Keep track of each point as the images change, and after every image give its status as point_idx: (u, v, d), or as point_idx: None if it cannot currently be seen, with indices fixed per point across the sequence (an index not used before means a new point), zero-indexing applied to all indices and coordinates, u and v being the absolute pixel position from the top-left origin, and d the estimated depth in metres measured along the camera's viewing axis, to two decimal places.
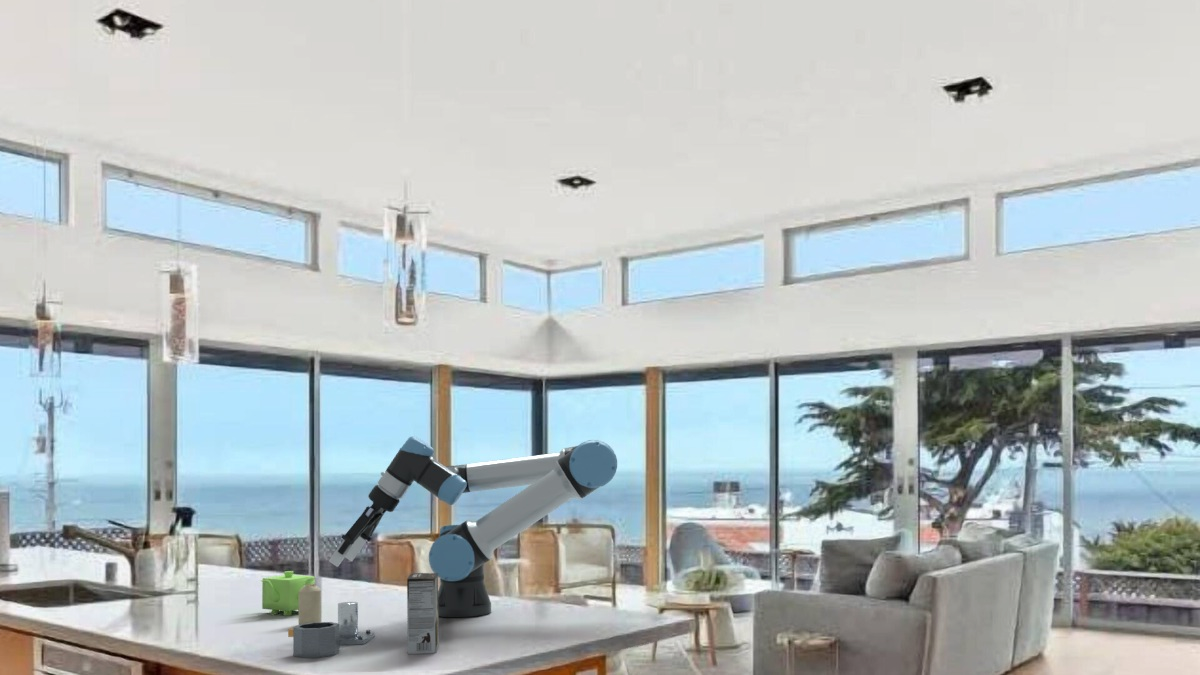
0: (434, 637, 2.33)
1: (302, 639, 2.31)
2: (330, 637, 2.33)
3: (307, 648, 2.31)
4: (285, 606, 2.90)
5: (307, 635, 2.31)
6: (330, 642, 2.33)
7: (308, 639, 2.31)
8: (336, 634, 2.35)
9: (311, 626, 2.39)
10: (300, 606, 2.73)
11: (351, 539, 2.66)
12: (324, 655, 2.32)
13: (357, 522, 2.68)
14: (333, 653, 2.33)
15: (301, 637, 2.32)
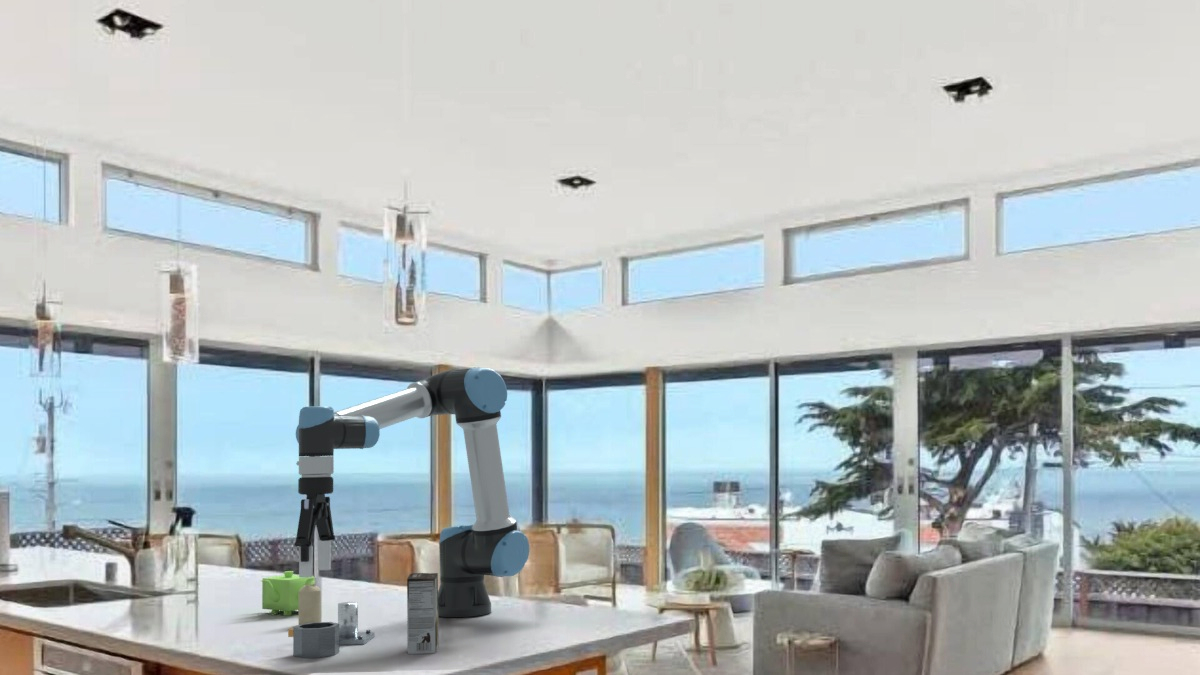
0: (434, 637, 2.33)
1: (302, 639, 2.31)
2: (330, 637, 2.33)
3: (307, 648, 2.31)
4: (285, 606, 2.90)
5: (307, 635, 2.31)
6: (330, 642, 2.33)
7: (308, 639, 2.31)
8: (336, 634, 2.35)
9: (311, 626, 2.39)
10: (300, 606, 2.73)
11: (305, 539, 2.28)
12: (324, 655, 2.32)
13: (301, 520, 2.31)
14: (333, 653, 2.33)
15: (301, 637, 2.32)
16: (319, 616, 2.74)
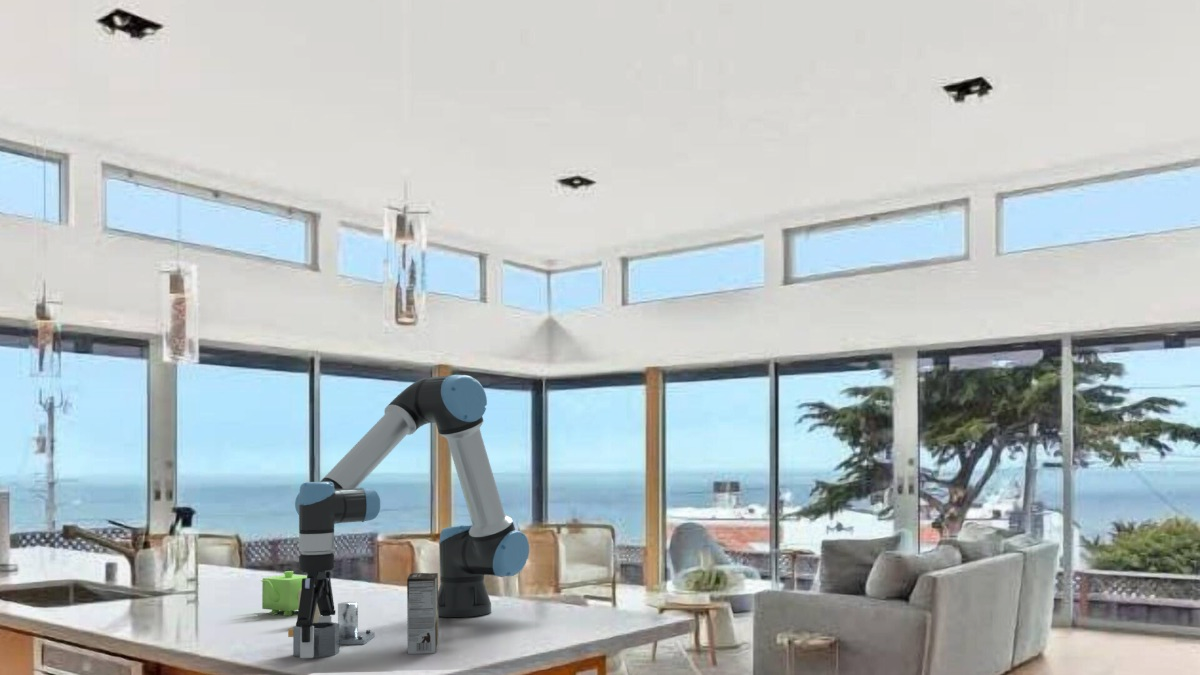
0: (434, 637, 2.33)
1: None
2: (330, 637, 2.33)
3: None
4: (285, 606, 2.90)
5: None
6: (330, 642, 2.33)
7: None
8: (336, 634, 2.35)
9: None
10: None
11: (306, 620, 2.26)
12: (324, 655, 2.32)
13: (302, 600, 2.29)
14: (333, 653, 2.33)
15: None
16: None
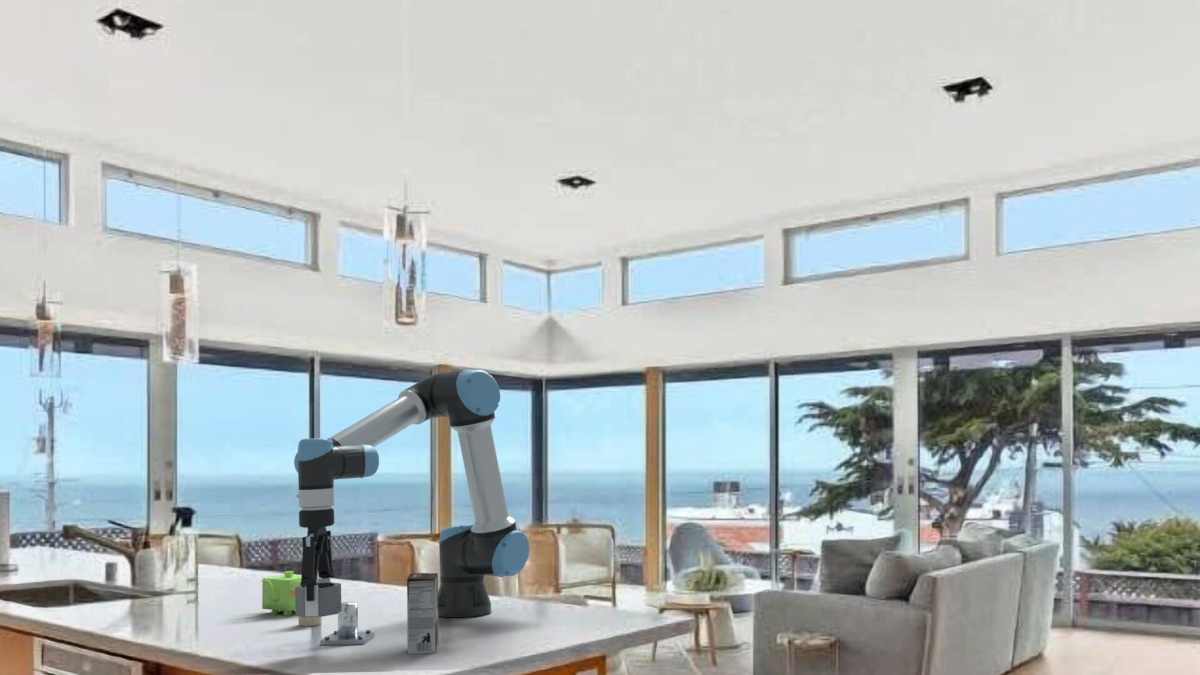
0: (434, 637, 2.33)
1: (304, 599, 2.33)
2: (332, 596, 2.34)
3: None
4: (285, 606, 2.90)
5: None
6: (332, 601, 2.34)
7: None
8: (338, 594, 2.36)
9: None
10: None
11: (310, 579, 2.29)
12: (326, 614, 2.33)
13: (304, 560, 2.31)
14: (335, 612, 2.35)
15: (303, 597, 2.33)
16: None
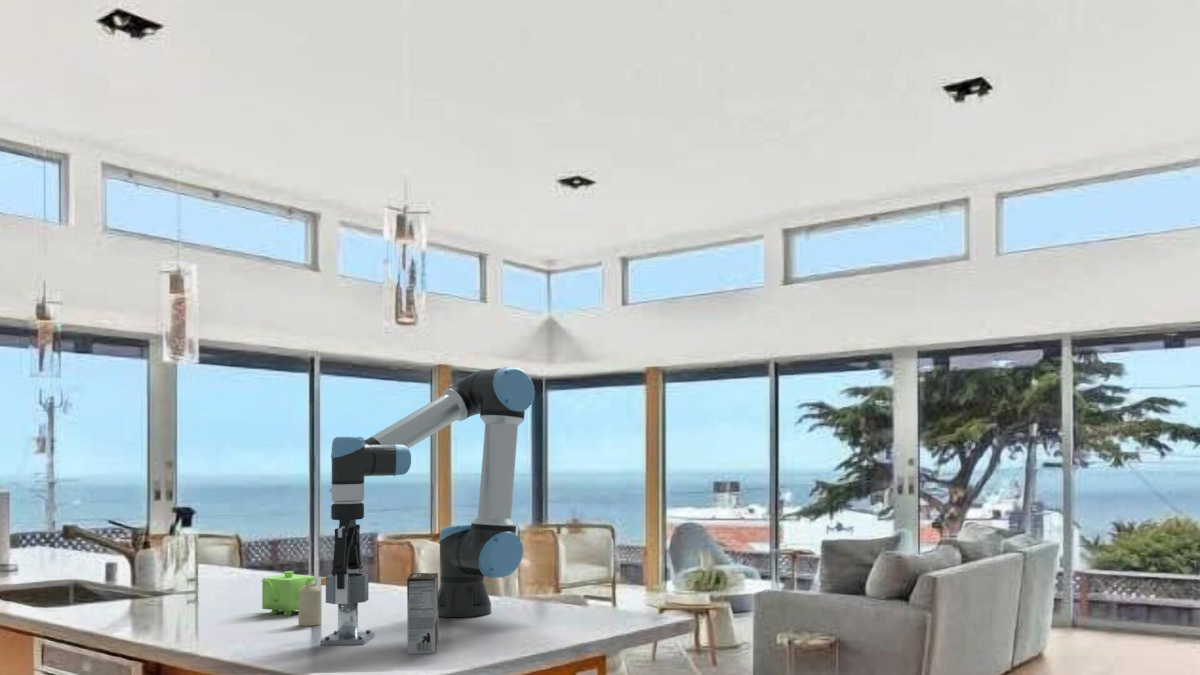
0: (434, 637, 2.33)
1: (334, 586, 2.47)
2: (360, 585, 2.49)
3: None
4: (285, 606, 2.90)
5: None
6: (360, 590, 2.49)
7: None
8: (366, 583, 2.51)
9: None
10: (300, 606, 2.73)
11: (341, 568, 2.44)
12: (355, 602, 2.47)
13: (336, 550, 2.45)
14: (363, 600, 2.49)
15: (334, 584, 2.47)
16: (319, 616, 2.74)
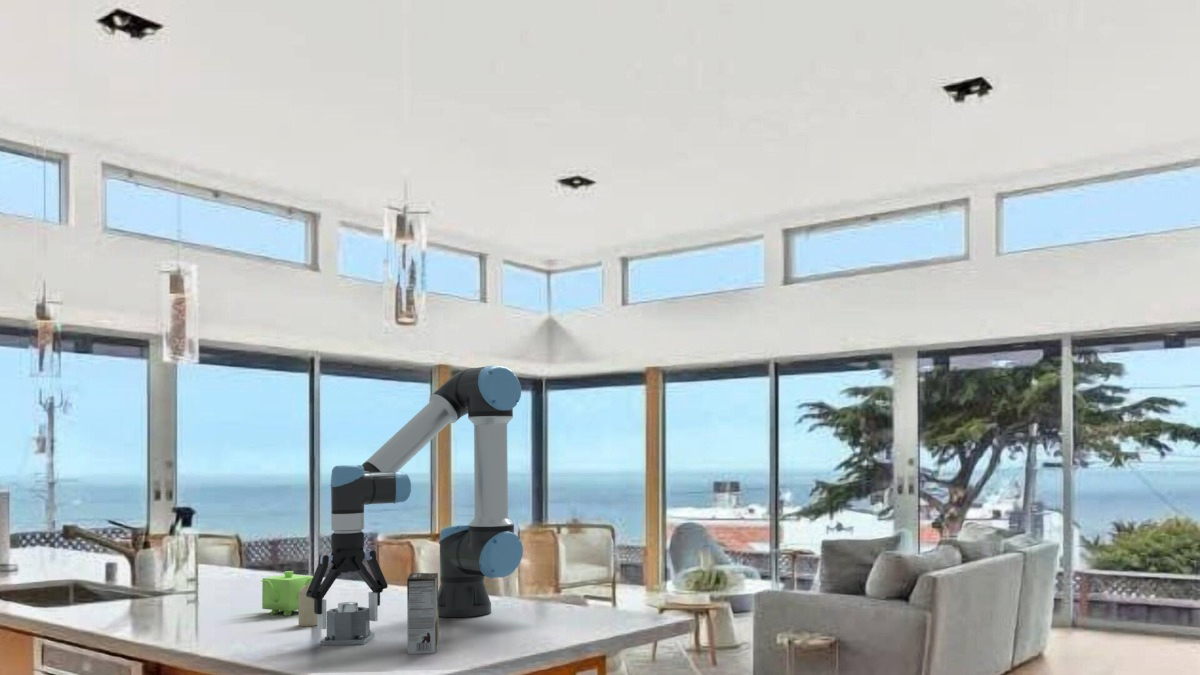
0: (434, 637, 2.33)
1: (327, 621, 2.49)
2: (346, 622, 2.46)
3: (329, 629, 2.48)
4: (285, 606, 2.90)
5: (329, 617, 2.48)
6: (346, 627, 2.46)
7: (329, 621, 2.48)
8: (356, 620, 2.47)
9: None
10: (300, 606, 2.73)
11: (310, 593, 2.44)
12: (340, 638, 2.46)
13: (314, 575, 2.47)
14: (350, 638, 2.46)
15: (327, 618, 2.49)
16: None
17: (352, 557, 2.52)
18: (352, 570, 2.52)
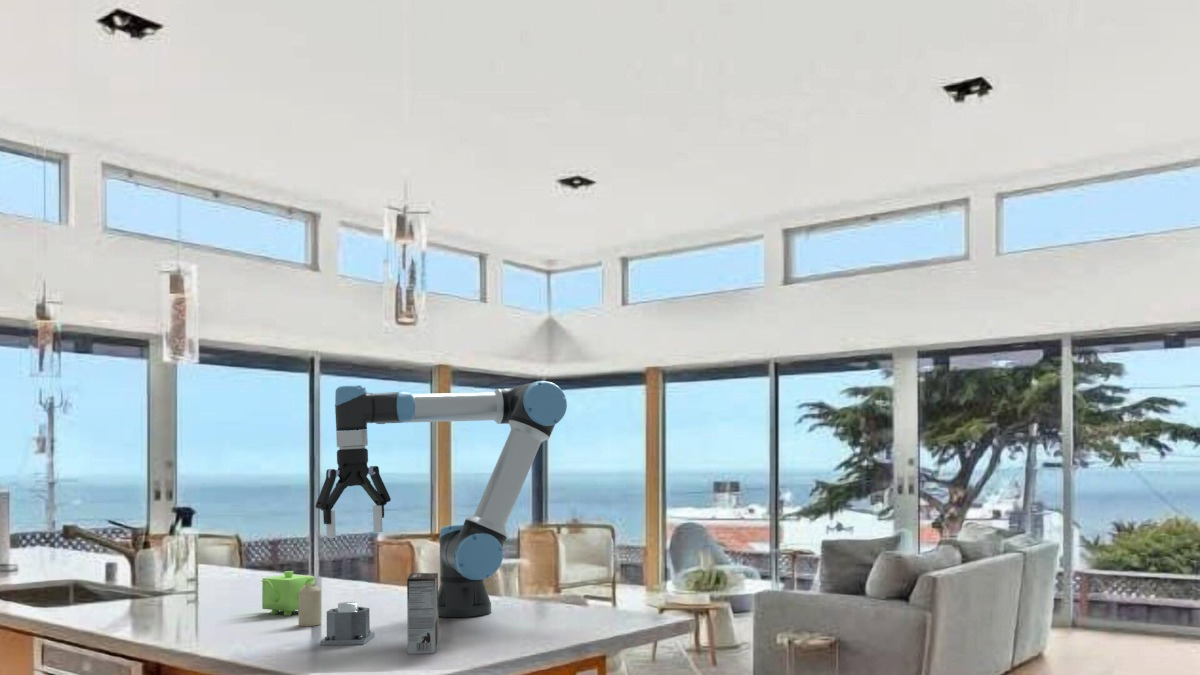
0: (434, 637, 2.33)
1: (327, 621, 2.49)
2: (346, 622, 2.46)
3: (329, 629, 2.48)
4: (285, 606, 2.90)
5: (329, 617, 2.48)
6: (346, 627, 2.46)
7: (329, 621, 2.48)
8: (356, 620, 2.47)
9: None
10: (300, 606, 2.73)
11: (320, 504, 2.59)
12: (340, 638, 2.46)
13: (323, 488, 2.61)
14: (350, 638, 2.46)
15: (327, 618, 2.49)
16: (319, 616, 2.74)
17: (357, 472, 2.67)
18: (357, 484, 2.67)
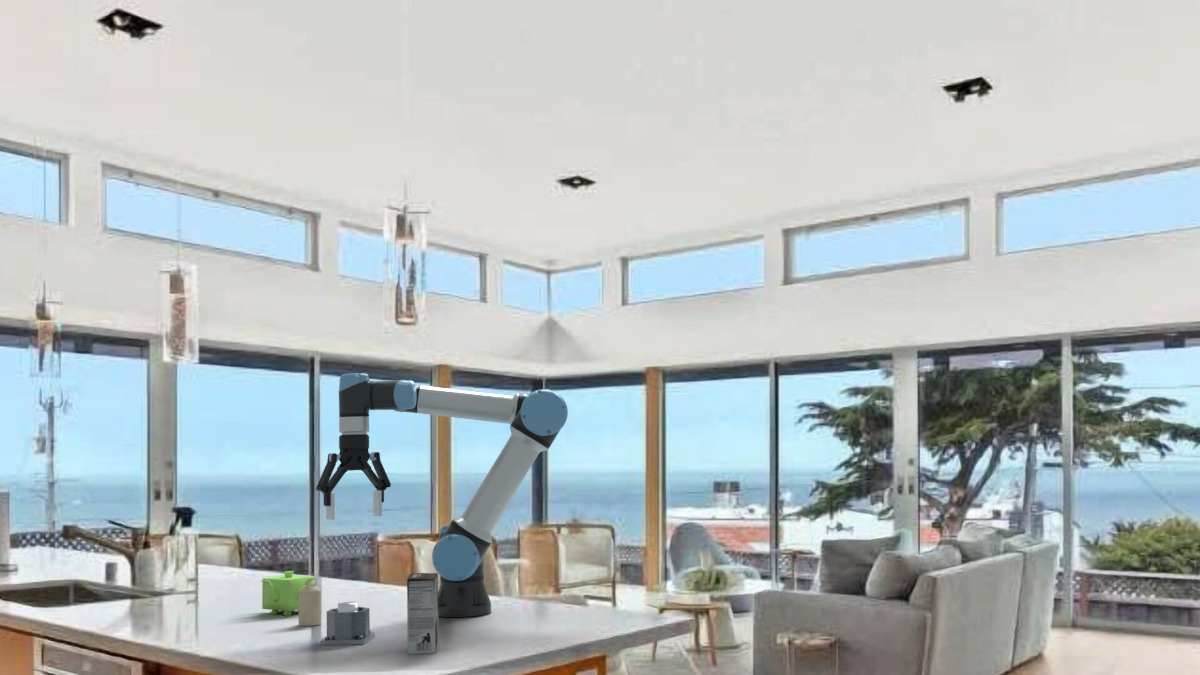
0: (434, 637, 2.33)
1: (327, 621, 2.49)
2: (346, 622, 2.46)
3: (329, 629, 2.48)
4: (285, 606, 2.90)
5: (329, 617, 2.48)
6: (346, 627, 2.46)
7: (329, 621, 2.48)
8: (356, 620, 2.47)
9: None
10: (300, 606, 2.73)
11: (320, 487, 2.68)
12: (340, 638, 2.46)
13: (324, 471, 2.71)
14: (350, 638, 2.46)
15: (327, 618, 2.49)
16: (319, 616, 2.74)
17: (358, 457, 2.76)
18: (358, 468, 2.76)
